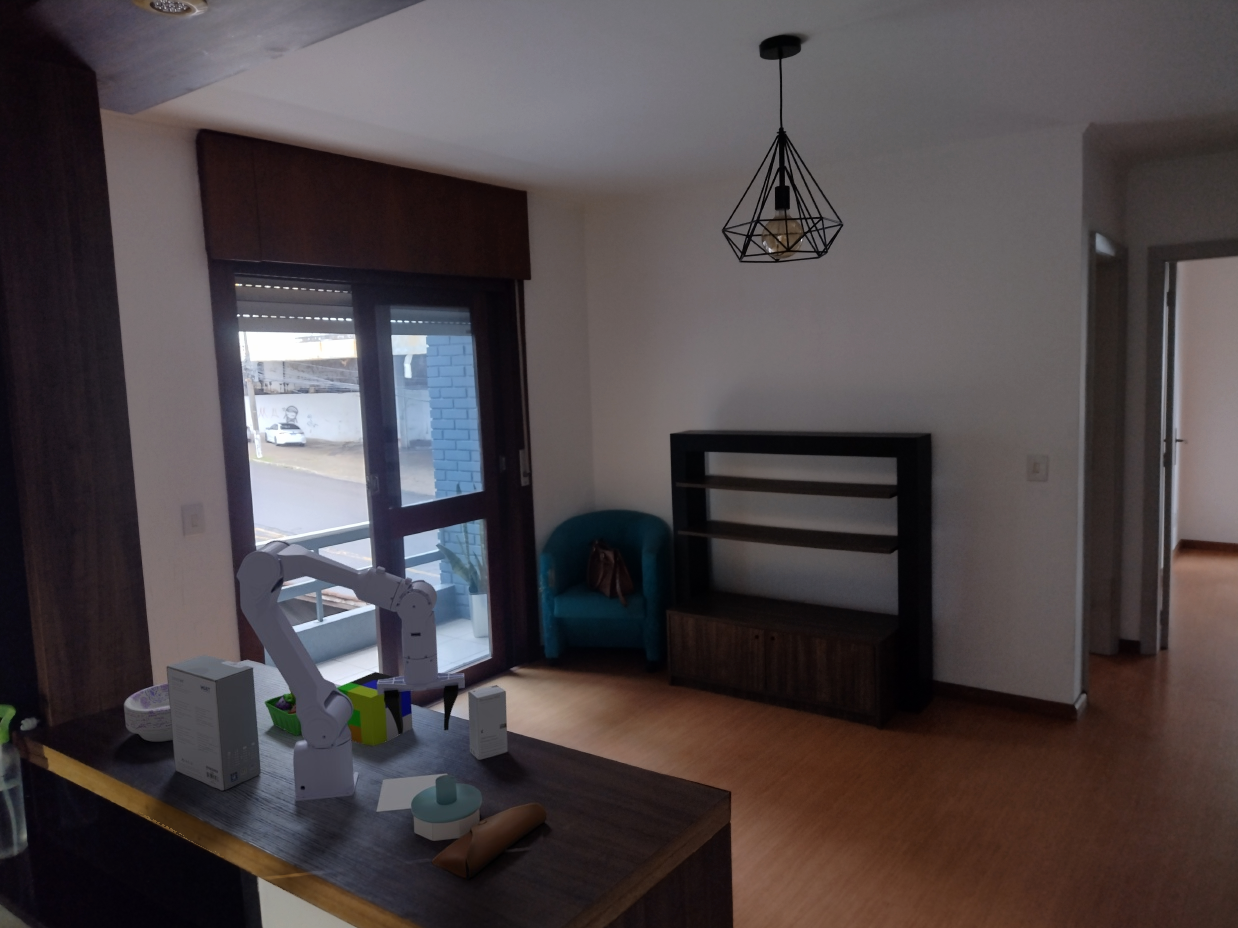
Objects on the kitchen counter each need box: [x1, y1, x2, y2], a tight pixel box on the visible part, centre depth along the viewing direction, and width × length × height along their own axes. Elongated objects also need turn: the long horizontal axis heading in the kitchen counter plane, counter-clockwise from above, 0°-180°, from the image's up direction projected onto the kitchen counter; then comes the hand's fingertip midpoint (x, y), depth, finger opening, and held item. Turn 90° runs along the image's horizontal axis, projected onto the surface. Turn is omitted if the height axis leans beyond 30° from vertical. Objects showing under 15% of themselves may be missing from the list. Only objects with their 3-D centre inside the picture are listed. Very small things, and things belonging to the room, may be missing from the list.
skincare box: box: [467, 684, 508, 760], centre depth 160 cm, size 6×4×12 cm
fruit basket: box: [264, 687, 302, 736], centre depth 175 cm, size 11×9×11 cm
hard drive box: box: [165, 654, 262, 792], centre depth 154 cm, size 16×8×20 cm, turn 57°
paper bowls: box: [123, 682, 173, 743], centre depth 173 cm, size 15×15×8 cm
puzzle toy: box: [336, 671, 413, 747], centre depth 171 cm, size 10×10×10 cm
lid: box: [410, 774, 483, 823], centre depth 136 cm, size 11×11×4 cm
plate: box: [376, 773, 448, 813], centre depth 146 cm, size 11×11×1 cm
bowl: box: [413, 808, 481, 842], centre depth 136 cm, size 10×10×3 cm
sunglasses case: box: [431, 802, 547, 881], centre depth 131 cm, size 18×7×7 cm
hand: (423, 729), depth 148 cm, fingers open, 7 cm apart
